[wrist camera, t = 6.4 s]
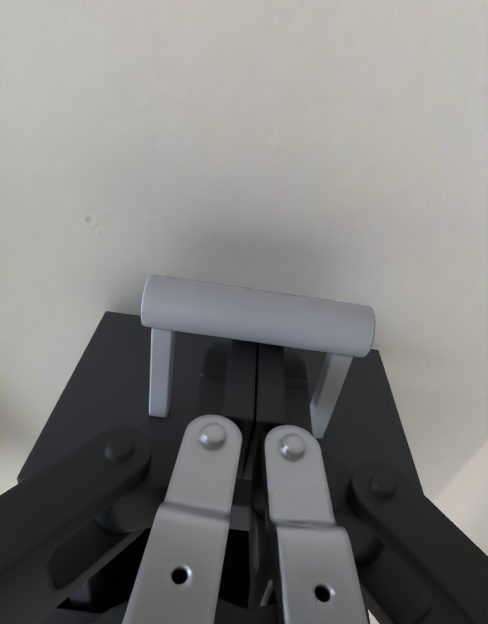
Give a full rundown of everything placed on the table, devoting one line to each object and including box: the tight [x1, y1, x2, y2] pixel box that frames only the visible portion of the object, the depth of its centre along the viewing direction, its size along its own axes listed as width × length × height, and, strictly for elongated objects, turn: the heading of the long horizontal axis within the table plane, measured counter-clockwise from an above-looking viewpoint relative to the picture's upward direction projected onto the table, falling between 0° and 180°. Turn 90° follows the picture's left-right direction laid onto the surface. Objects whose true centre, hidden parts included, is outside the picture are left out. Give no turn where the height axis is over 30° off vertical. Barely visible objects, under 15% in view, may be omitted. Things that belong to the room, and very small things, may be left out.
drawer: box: [17, 274, 424, 613], centre depth 18 cm, size 18×11×8 cm, turn 172°
